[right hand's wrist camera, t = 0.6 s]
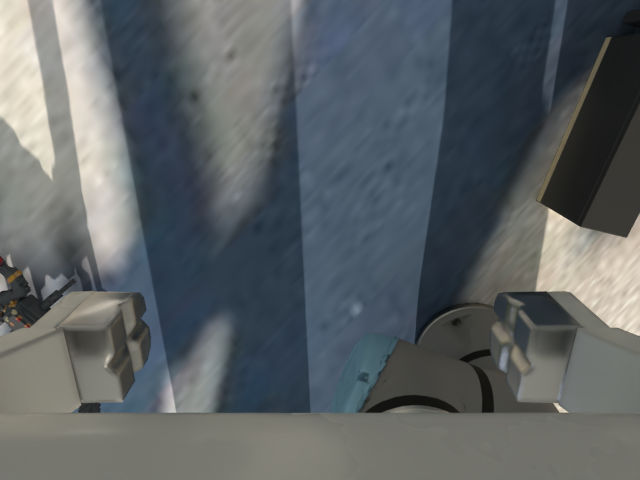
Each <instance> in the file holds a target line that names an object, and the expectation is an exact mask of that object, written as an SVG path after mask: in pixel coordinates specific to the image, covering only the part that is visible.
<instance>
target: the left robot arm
mask: <svg viewBox="0 0 640 480" xmlns="http://www.w3.org/2000/svg"><path fill="white" fill-rule="evenodd" d="M498 319H499V318H498V316H497V315H496V313H495V312H494V308H493V307H491V306H488V305H483V304H476V303H469V304H461V305H456V306H453V307H450V308H447V309H445V310H443V311H441V312H440V313H438V314H436V315H435V316H434V317H433V318H431V319H430V320H429V321H428V322H427V323H426V324H425V326H424V327H423V328H422V330H421V331H420V333H419V335H418V338H417V341H416V345H415V344H412V343H409V342H407V341H404V340H401V339H399V337H390V336H387V335H383V334H379V333H374V332H373V333H368V334H366V335H365V336H364V337H362V338H361V339H360V340H359V341H358V342H357V344H356V345H355V347H354V348H353V350H352V352H351V354H350V356H349V358H348V360H347V362H346V364H345V367H344V369H343V371H342V374H341V376H340V379H339V382H338V385H337V388H336V391H335V394H334V398H333V401H332V406H331V410H330V413H559V411H558V410H557V408H556V407H555V406H554V404H553V403H536V402H518V401H517V400H516V398H515V396H514V395H513V393H512V392H511V390H510V388H509V387H508V385H507V383H506V382H505V378H506V373H505V372H504V371H502V370H500V369H499V368H497V366H496V365H495V363H494V361H493V359H492V356H491V352H490V344H489V337H490V329H491V326H492V325H493V324H494V323H495V322H496V321H497V320H498Z"/></svg>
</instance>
